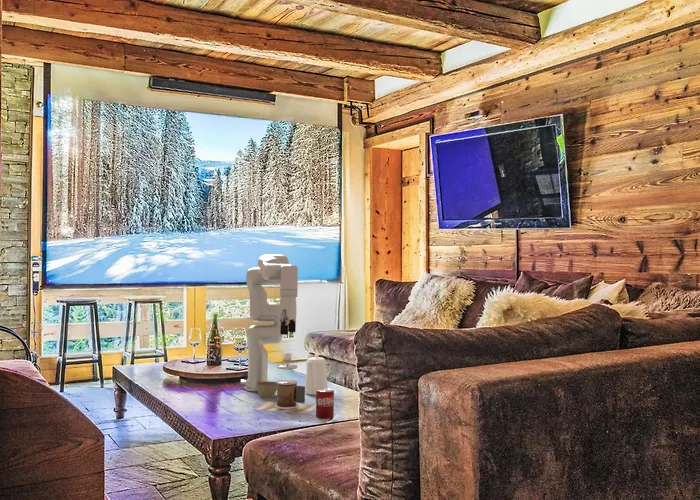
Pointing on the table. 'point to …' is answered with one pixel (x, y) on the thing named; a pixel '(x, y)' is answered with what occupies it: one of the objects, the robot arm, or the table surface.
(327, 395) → the soda can
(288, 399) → the mug
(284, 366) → the silver knobbed lid
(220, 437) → the table surface
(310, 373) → the coffeepot
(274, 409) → the serving board
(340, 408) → the table surface
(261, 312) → the robot arm
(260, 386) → the flower pot
